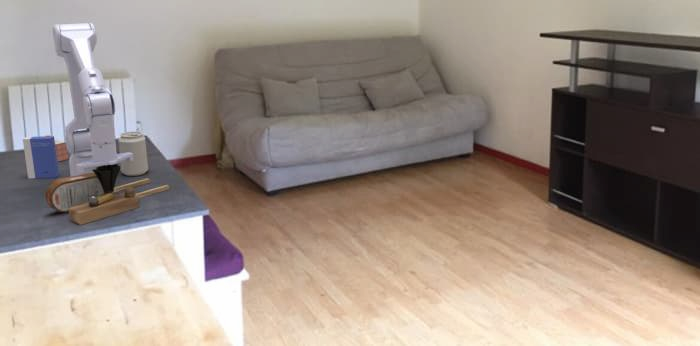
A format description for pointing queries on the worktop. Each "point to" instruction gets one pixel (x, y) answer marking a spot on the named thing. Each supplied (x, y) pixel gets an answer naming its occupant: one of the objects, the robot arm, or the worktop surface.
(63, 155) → the puzzle toy
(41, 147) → the walkman
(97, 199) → the brass lever
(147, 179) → the oak guide strips
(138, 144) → the can
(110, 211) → the wooden block with knobs
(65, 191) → the tin
